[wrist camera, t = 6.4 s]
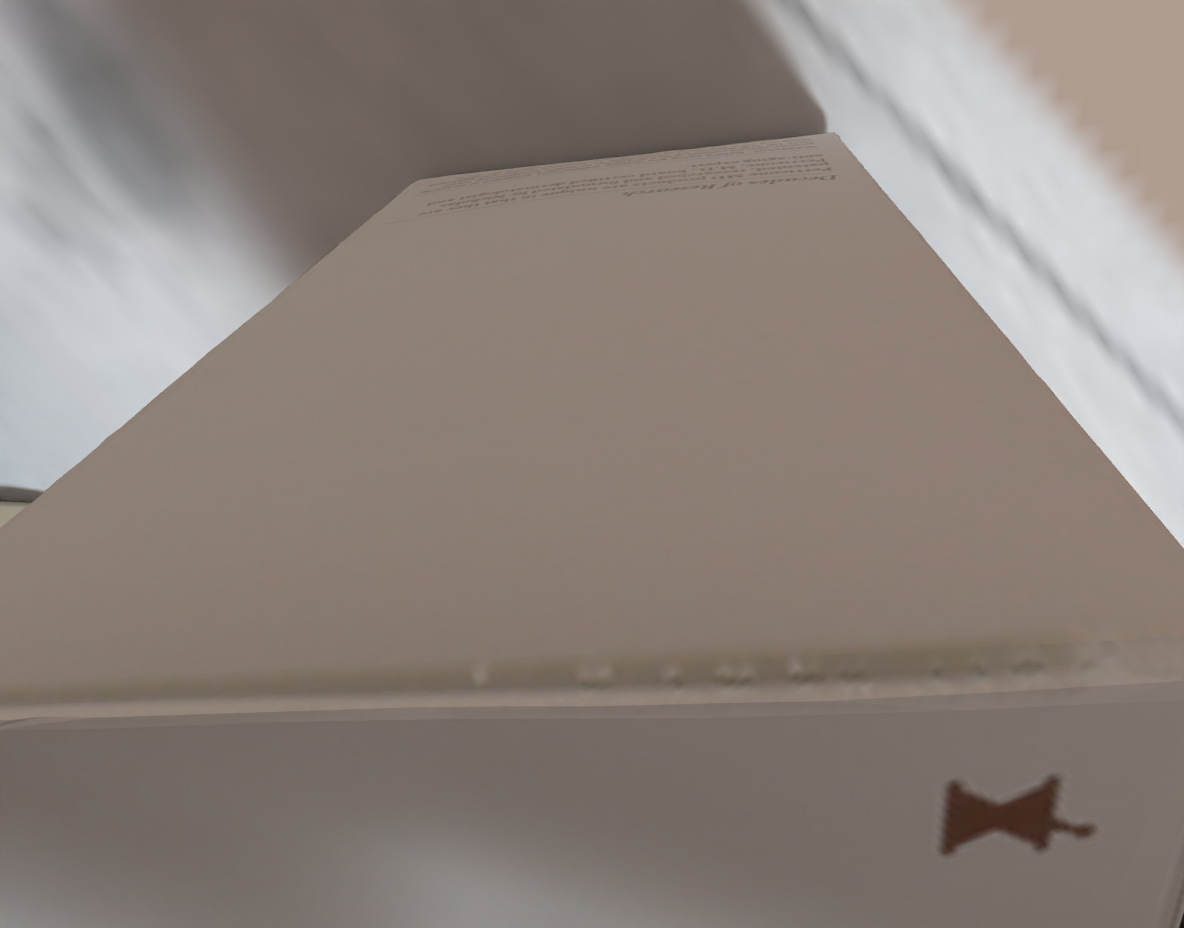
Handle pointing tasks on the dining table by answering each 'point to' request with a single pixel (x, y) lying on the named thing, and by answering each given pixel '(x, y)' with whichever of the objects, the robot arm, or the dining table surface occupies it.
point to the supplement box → (600, 591)
